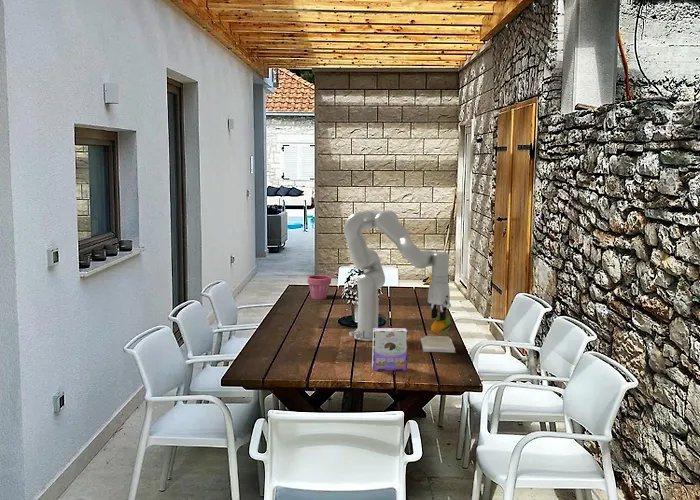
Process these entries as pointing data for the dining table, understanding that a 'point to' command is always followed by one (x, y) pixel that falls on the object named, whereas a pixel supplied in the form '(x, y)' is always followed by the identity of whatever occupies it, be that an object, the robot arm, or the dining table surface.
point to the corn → (440, 325)
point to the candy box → (389, 349)
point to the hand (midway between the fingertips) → (438, 318)
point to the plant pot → (319, 286)
